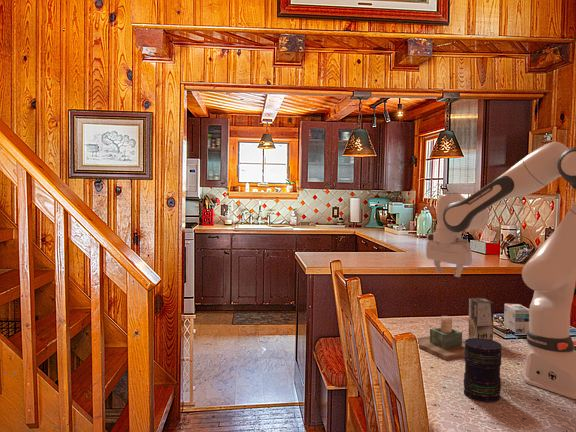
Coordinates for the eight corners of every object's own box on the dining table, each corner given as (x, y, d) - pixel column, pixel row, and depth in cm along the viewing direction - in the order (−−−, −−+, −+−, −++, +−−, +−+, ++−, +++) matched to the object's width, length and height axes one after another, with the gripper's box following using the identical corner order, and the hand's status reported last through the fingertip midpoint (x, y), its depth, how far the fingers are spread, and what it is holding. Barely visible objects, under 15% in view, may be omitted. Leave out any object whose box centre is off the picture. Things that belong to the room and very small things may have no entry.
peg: (453, 345, 175) (454, 318, 175) (445, 346, 174) (446, 319, 173) (446, 341, 179) (446, 315, 178) (437, 343, 177) (438, 316, 177)
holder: (484, 353, 171) (485, 335, 170) (445, 360, 164) (445, 341, 163) (445, 337, 189) (446, 321, 189) (408, 343, 182) (409, 326, 182)
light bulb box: (531, 336, 191) (532, 309, 190) (514, 336, 191) (515, 309, 190) (519, 328, 202) (519, 303, 201) (503, 328, 202) (503, 303, 201)
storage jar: (470, 385, 143) (471, 335, 142) (504, 393, 137) (506, 342, 136) (458, 396, 135) (459, 344, 134) (494, 406, 129) (495, 351, 128)
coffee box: (493, 345, 180) (494, 302, 179) (476, 345, 180) (477, 302, 179) (484, 337, 189) (485, 297, 188) (467, 337, 189) (468, 297, 188)
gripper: (476, 239, 166) (475, 278, 167) (436, 234, 185) (436, 269, 186) (462, 240, 164) (462, 280, 165) (423, 235, 183) (423, 271, 183)
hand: (447, 274), depth 175 cm, fingers open, 8 cm apart
